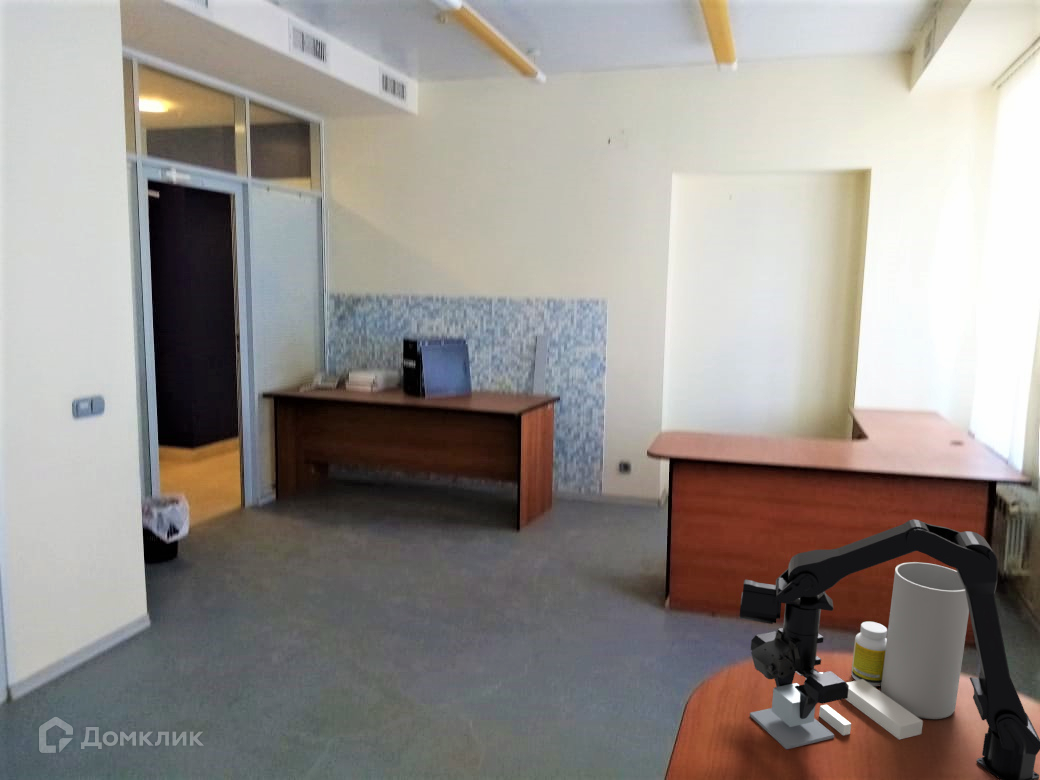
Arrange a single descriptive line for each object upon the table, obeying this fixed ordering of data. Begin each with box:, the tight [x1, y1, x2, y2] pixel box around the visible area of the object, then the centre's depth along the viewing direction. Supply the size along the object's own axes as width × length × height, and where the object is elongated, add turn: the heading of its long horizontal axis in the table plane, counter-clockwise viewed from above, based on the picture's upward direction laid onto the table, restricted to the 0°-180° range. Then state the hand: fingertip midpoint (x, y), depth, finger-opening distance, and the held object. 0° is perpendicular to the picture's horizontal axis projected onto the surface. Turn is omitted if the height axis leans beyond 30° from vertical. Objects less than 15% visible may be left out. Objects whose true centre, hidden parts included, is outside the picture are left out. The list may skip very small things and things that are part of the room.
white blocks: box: [818, 679, 924, 740], centre depth 141 cm, size 14×14×2 cm
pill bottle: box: [851, 621, 888, 687], centre depth 153 cm, size 6×6×11 cm
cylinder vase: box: [880, 561, 970, 720], centre depth 145 cm, size 12×12×25 cm
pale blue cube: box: [771, 682, 816, 727], centre depth 137 cm, size 5×5×4 cm
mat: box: [749, 707, 835, 750], centre depth 138 cm, size 10×10×1 cm
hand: (792, 709), depth 138 cm, fingers closed on pale blue cube, 5 cm apart
